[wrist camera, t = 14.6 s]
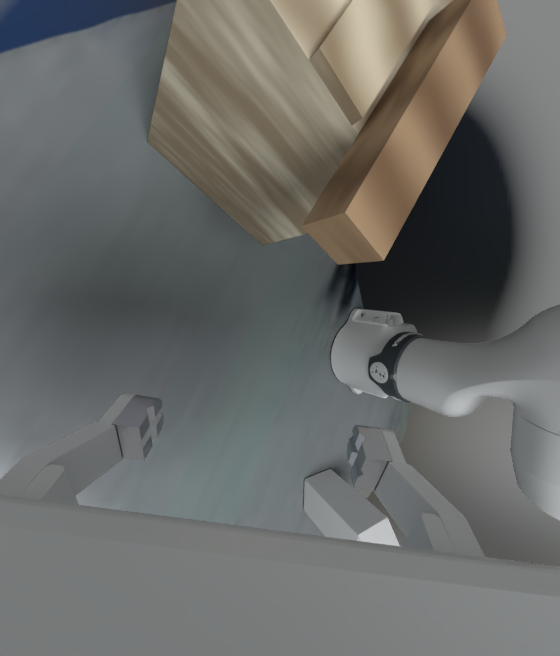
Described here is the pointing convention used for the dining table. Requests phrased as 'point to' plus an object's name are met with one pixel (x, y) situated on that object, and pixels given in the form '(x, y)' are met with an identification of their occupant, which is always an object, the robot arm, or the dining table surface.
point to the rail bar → (406, 134)
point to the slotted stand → (275, 97)
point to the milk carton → (344, 511)
